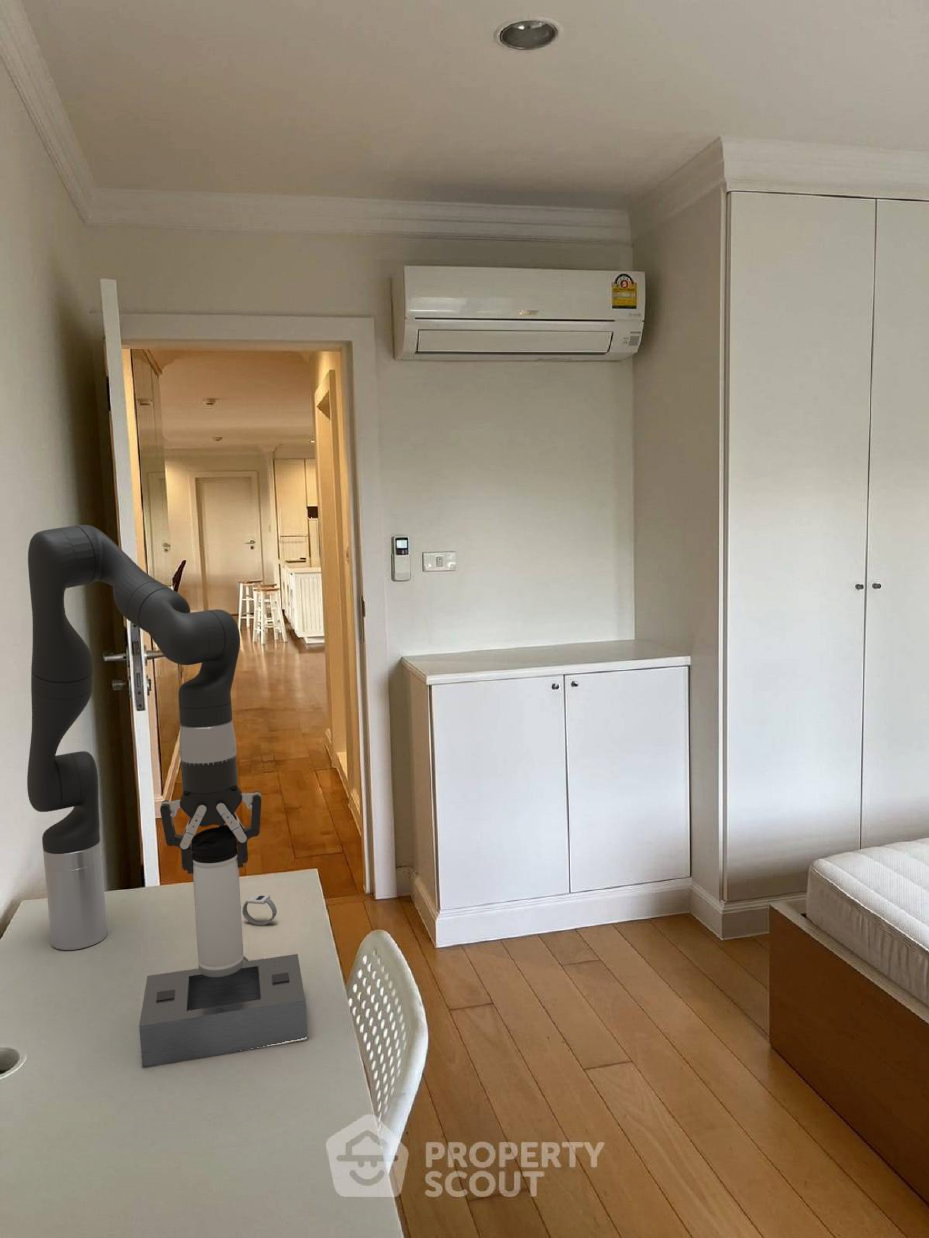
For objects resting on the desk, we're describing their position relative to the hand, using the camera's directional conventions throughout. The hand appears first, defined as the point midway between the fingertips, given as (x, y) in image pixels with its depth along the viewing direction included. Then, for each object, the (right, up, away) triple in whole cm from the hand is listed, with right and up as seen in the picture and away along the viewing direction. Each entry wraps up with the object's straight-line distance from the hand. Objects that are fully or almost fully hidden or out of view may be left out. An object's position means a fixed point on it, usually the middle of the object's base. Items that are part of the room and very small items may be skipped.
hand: (215, 868), depth 131 cm
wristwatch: (-2, -20, +36) cm, 41 cm away
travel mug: (0, -15, +2) cm, 15 cm away
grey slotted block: (+1, -24, +3) cm, 24 cm away
